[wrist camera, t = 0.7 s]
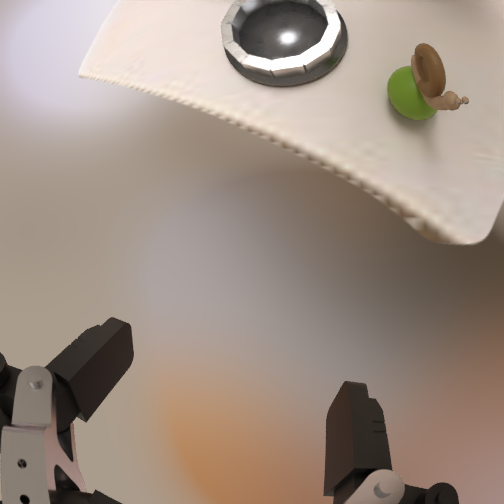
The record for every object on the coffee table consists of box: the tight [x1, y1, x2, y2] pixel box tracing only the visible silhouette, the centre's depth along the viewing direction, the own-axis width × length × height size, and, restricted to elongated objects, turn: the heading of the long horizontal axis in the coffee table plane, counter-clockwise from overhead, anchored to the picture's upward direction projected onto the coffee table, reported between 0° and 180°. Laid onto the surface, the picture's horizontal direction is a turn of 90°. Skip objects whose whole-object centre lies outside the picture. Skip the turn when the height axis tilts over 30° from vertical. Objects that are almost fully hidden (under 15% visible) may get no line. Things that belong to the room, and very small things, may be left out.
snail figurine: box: [387, 43, 469, 120], centre depth 17 cm, size 5×6×12 cm
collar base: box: [221, 0, 347, 87], centre depth 23 cm, size 14×14×3 cm
